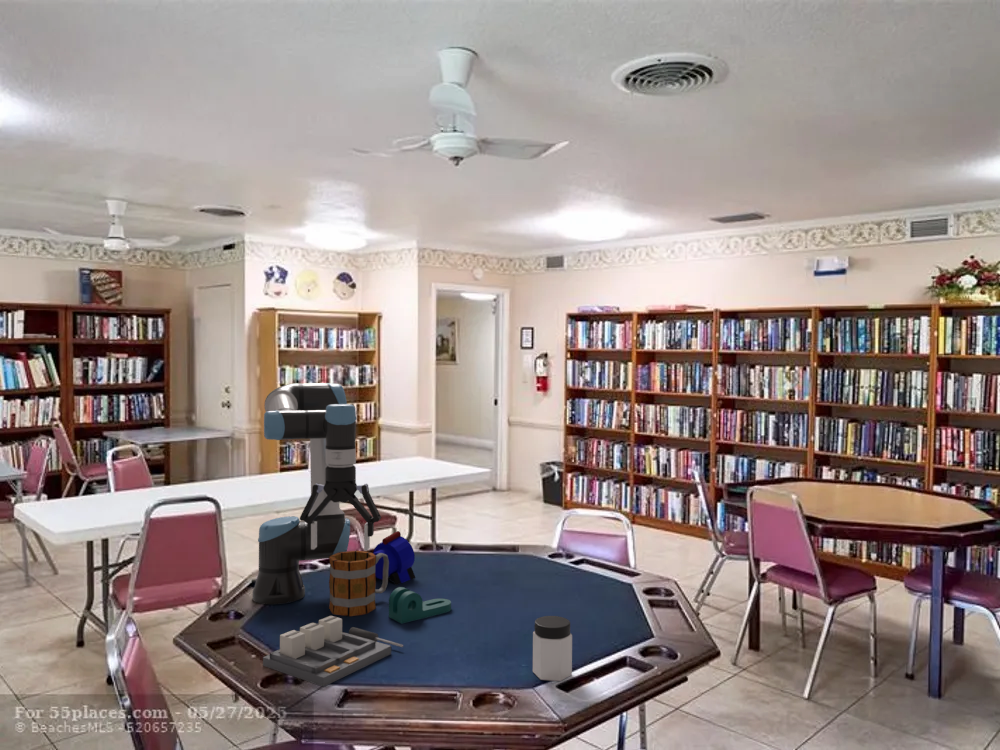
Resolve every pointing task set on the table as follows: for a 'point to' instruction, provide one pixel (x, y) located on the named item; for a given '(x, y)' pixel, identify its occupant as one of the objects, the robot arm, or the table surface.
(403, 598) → the bracket
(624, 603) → the table surface
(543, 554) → the table surface
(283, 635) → the small white box
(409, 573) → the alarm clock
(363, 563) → the mug
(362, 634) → the screwdriver
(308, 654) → the switch bank
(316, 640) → the white grooved block
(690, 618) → the table surface
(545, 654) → the jar
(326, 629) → the small white box
